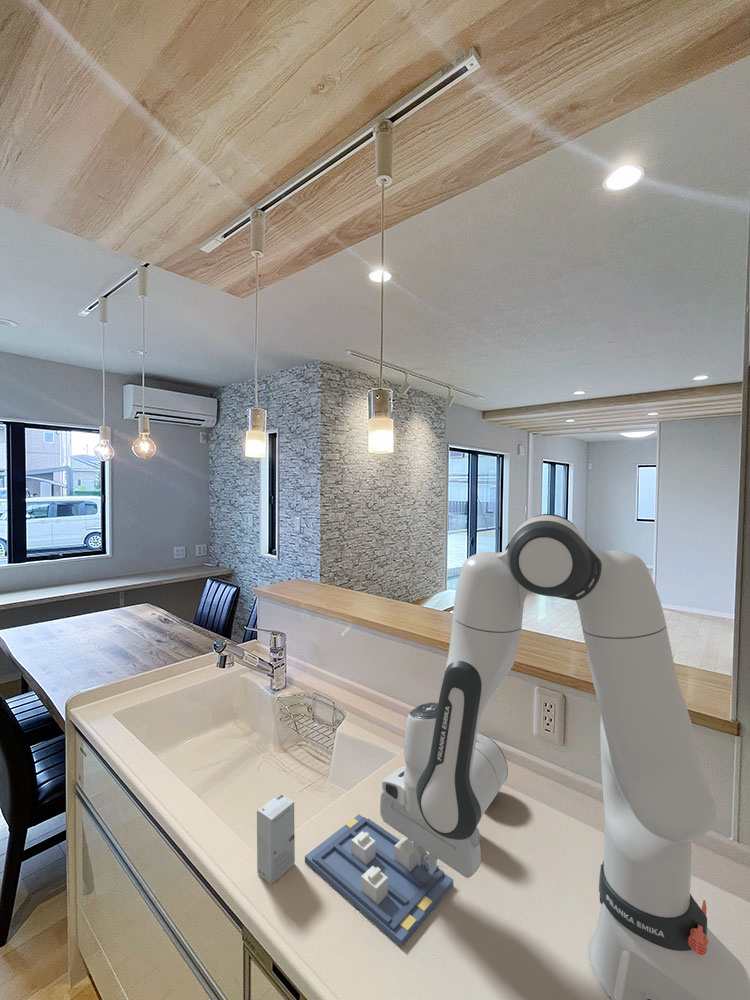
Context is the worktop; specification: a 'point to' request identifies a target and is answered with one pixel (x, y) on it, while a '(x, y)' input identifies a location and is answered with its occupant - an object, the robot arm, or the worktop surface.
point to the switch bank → (406, 890)
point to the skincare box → (275, 838)
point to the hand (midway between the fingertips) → (427, 867)
